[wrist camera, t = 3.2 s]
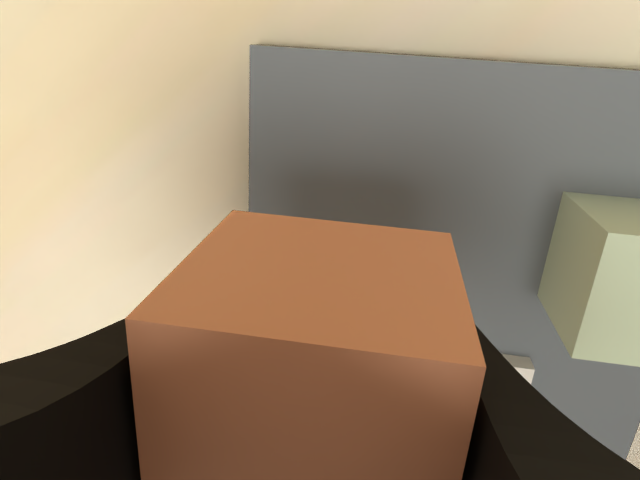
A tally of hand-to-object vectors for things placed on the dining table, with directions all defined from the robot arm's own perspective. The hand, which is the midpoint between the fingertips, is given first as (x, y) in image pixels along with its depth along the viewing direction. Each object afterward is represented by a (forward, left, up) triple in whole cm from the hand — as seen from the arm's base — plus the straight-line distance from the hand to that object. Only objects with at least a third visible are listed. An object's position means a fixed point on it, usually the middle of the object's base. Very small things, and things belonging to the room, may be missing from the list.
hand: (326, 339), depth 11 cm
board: (-5, -4, -9) cm, 11 cm away
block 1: (0, 0, -1) cm, 1 cm away
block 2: (0, -9, -8) cm, 12 cm away
